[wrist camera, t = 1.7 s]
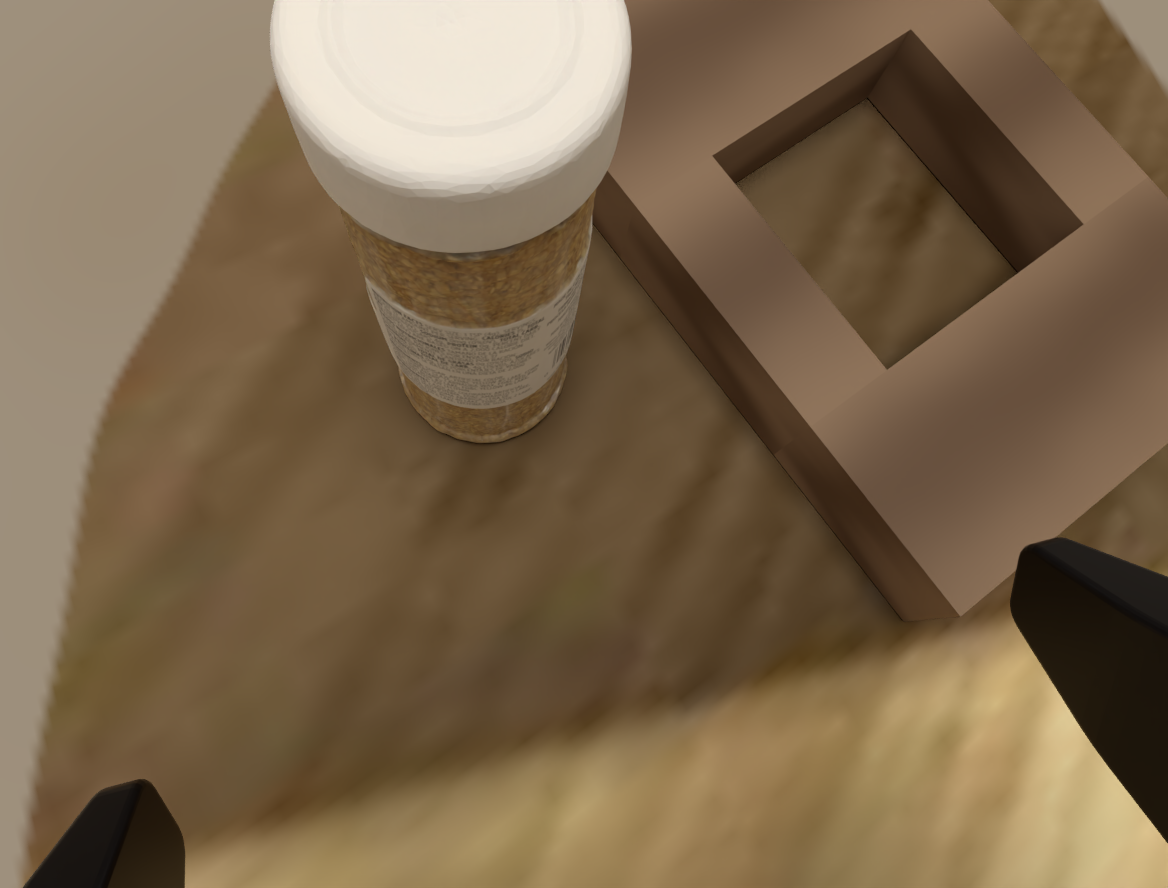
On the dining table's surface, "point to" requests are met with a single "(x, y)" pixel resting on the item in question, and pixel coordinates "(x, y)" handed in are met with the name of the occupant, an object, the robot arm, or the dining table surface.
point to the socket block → (957, 352)
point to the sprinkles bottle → (463, 180)
